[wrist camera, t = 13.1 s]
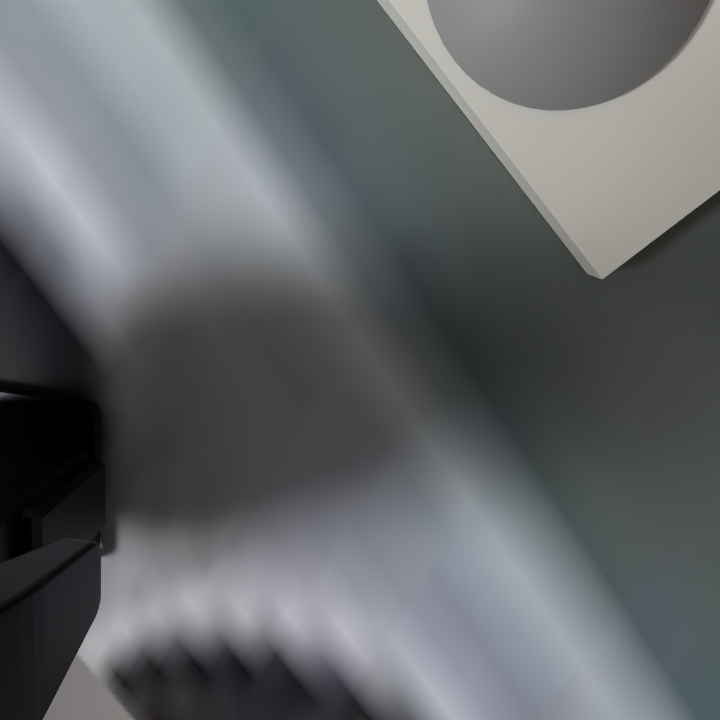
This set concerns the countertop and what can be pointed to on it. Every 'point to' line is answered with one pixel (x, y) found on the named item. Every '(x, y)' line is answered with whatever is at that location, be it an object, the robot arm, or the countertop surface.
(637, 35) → the white plate with inlay
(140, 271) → the countertop surface
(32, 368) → the countertop surface
